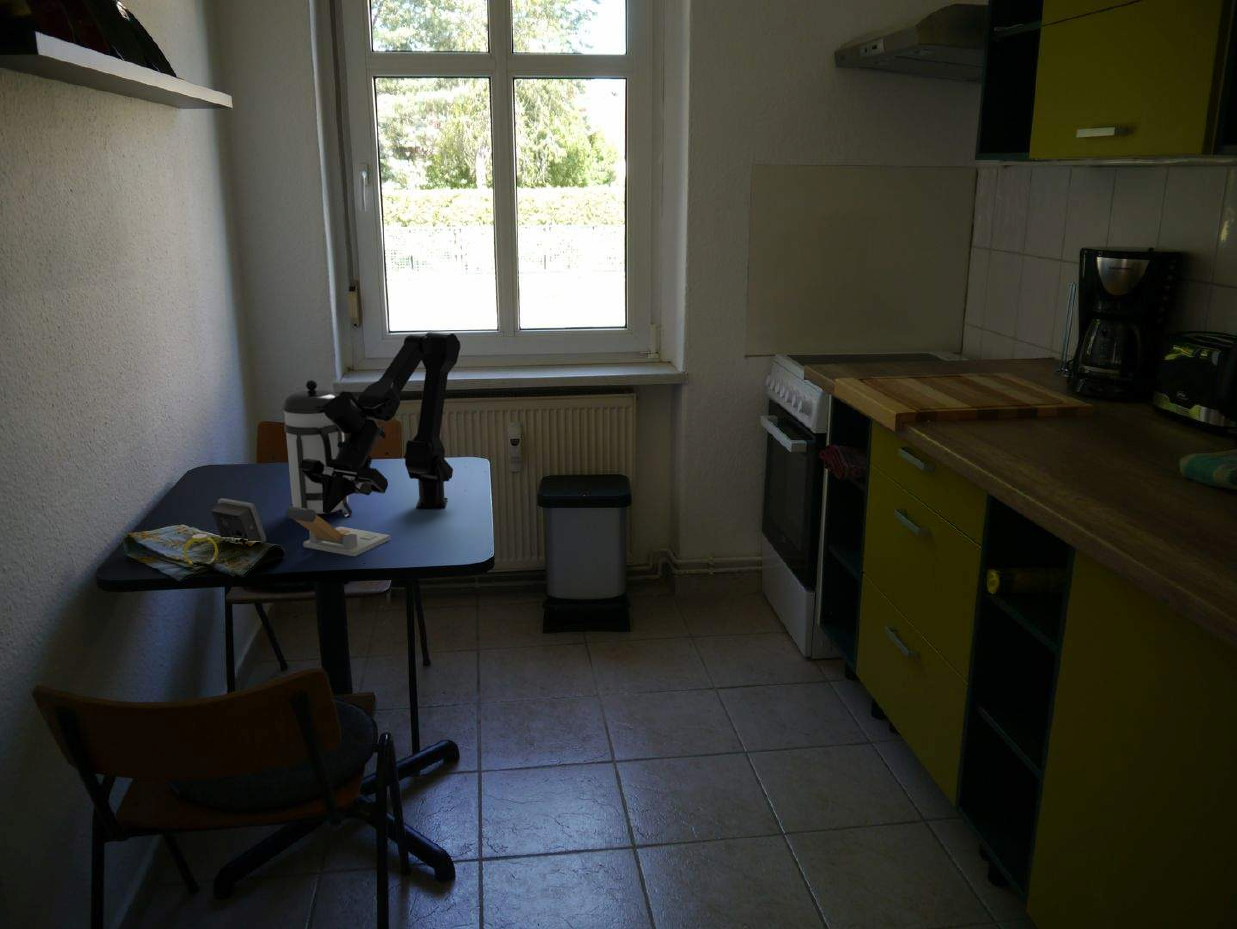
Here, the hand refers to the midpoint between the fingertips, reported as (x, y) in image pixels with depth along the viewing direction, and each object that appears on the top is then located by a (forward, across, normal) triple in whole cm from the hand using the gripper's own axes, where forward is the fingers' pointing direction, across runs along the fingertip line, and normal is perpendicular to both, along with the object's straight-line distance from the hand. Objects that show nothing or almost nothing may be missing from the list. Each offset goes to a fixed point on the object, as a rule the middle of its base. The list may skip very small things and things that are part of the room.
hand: (325, 513), depth 203 cm
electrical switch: (+8, +20, -3) cm, 22 cm away
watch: (+17, +17, +6) cm, 25 cm away
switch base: (+2, 0, -10) cm, 10 cm away
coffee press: (-7, +17, -19) cm, 26 cm away
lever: (+3, 0, -5) cm, 6 cm away
